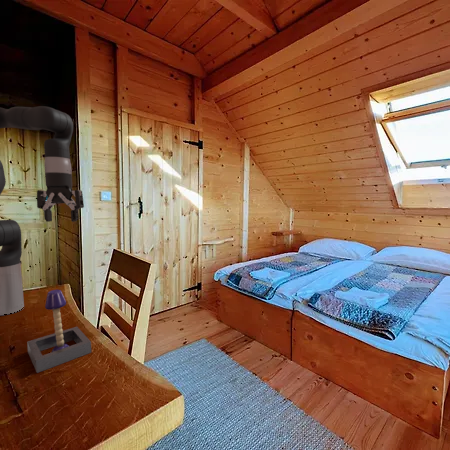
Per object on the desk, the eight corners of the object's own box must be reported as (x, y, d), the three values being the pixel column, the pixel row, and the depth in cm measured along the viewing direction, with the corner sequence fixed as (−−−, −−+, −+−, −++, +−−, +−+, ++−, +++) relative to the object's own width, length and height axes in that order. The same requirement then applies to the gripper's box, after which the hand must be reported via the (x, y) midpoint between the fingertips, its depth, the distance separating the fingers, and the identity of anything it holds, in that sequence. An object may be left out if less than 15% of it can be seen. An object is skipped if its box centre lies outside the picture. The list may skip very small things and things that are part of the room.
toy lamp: (48, 359, 68) (42, 295, 67) (50, 350, 72) (45, 289, 71) (69, 353, 70) (65, 292, 69) (70, 345, 75) (66, 287, 73)
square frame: (36, 373, 63) (36, 360, 62) (28, 352, 71) (27, 341, 71) (91, 352, 71) (90, 341, 71) (77, 336, 80) (77, 326, 79)
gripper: (28, 171, 85) (32, 222, 86) (73, 171, 85) (76, 222, 86) (44, 173, 92) (48, 220, 94) (86, 173, 92) (88, 220, 94)
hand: (61, 221), depth 90 cm, fingers open, 8 cm apart
